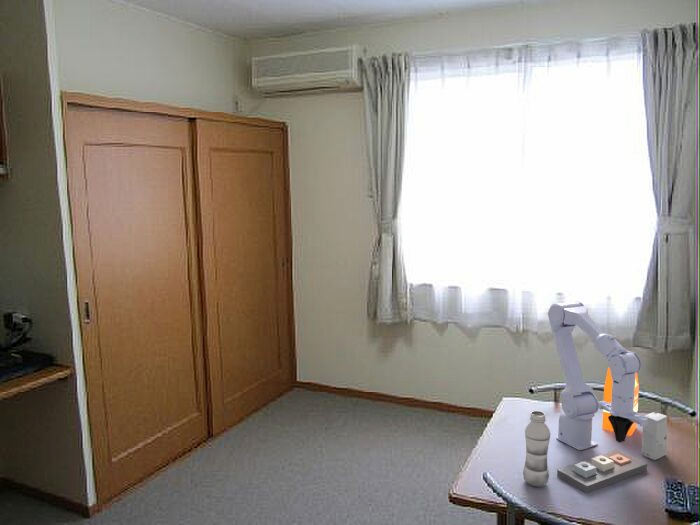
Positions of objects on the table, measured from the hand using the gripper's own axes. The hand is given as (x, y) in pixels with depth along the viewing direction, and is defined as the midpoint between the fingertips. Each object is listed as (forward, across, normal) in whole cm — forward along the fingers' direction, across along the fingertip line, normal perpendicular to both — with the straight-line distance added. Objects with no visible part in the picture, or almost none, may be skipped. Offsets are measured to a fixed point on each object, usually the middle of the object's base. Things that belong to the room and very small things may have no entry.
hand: (620, 440), depth 163 cm
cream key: (+6, 0, -7) cm, 9 cm away
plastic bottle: (+8, -5, -27) cm, 29 cm away
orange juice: (+8, -17, +22) cm, 29 cm away
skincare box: (+8, 0, +15) cm, 17 cm away
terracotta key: (+7, 0, 0) cm, 7 cm away
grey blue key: (+6, 0, -14) cm, 15 cm away
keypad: (+8, 0, -7) cm, 11 cm away
